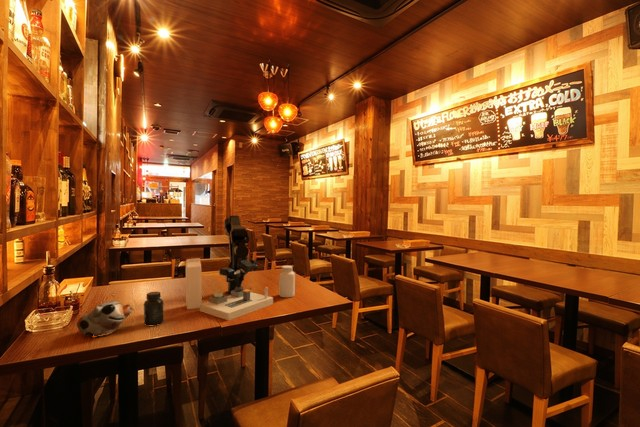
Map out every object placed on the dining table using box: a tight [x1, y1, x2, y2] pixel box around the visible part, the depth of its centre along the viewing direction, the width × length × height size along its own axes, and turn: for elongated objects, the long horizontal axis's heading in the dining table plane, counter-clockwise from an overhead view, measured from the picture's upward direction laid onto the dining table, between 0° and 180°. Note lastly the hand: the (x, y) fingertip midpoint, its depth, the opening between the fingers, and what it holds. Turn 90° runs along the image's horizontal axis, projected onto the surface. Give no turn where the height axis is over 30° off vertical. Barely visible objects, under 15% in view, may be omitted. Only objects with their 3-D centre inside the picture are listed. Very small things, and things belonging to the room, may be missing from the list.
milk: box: [185, 257, 203, 310], centre depth 148 cm, size 6×6×22 cm
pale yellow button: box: [213, 291, 224, 298], centre depth 146 cm, size 4×4×2 cm
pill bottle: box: [278, 265, 296, 299], centre depth 166 cm, size 8×8×15 cm
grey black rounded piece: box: [76, 300, 134, 337], centre depth 120 cm, size 15×12×14 cm
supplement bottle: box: [143, 291, 165, 326], centre depth 128 cm, size 7×7×12 cm
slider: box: [243, 288, 251, 301], centre depth 148 cm, size 3×2×4 cm
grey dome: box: [235, 285, 244, 292], centre depth 156 cm, size 4×4×2 cm
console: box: [199, 286, 274, 322], centre depth 147 cm, size 19×26×8 cm
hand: (239, 286), depth 156 cm, fingers closed
